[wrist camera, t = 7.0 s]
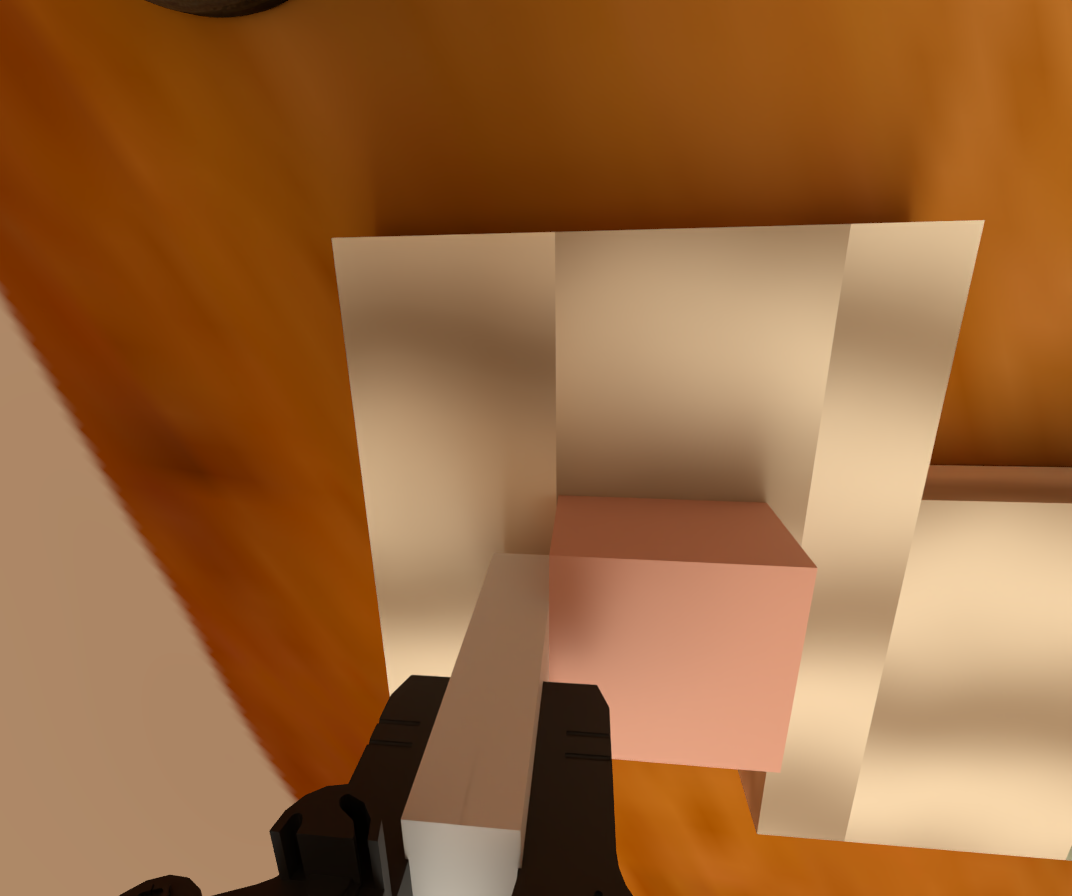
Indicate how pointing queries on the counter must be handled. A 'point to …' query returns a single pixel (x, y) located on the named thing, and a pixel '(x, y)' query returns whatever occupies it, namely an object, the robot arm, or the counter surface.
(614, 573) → the block
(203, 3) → the container
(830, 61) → the counter surface
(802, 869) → the counter surface
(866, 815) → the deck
